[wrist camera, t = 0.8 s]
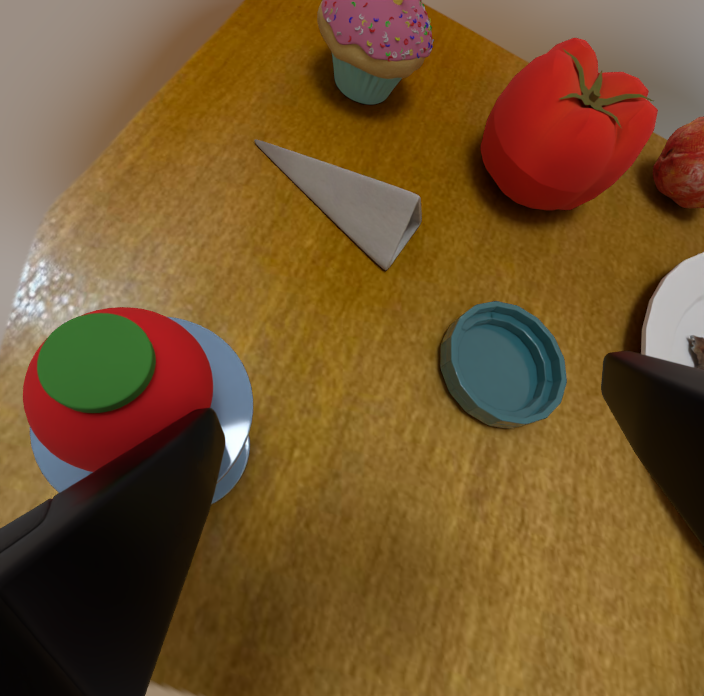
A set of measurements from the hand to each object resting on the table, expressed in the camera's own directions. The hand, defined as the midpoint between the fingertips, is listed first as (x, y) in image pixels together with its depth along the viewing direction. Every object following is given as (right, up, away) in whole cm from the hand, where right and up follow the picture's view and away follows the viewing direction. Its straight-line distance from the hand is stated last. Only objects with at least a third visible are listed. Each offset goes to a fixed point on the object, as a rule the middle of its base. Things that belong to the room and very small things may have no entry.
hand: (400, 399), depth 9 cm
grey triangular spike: (-3, +11, +20) cm, 23 cm away
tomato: (+14, +16, +26) cm, 33 cm away
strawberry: (-7, -1, +3) cm, 8 cm away
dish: (+8, 0, +18) cm, 20 cm away
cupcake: (0, +23, +25) cm, 34 cm away
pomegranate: (+30, +20, +31) cm, 48 cm away
